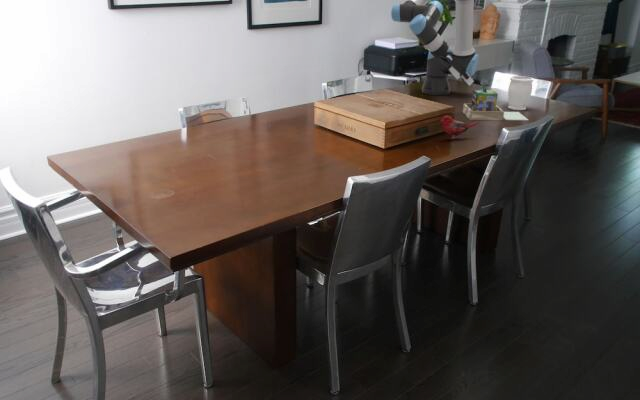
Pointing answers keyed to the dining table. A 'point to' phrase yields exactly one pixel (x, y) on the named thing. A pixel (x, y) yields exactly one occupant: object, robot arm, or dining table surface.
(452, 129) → the decorative bird figurine
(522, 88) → the jar
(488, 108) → the chalk box
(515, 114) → the sage-grey mat
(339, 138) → the dining table surface
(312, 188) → the dining table surface
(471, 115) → the pale wooden box
